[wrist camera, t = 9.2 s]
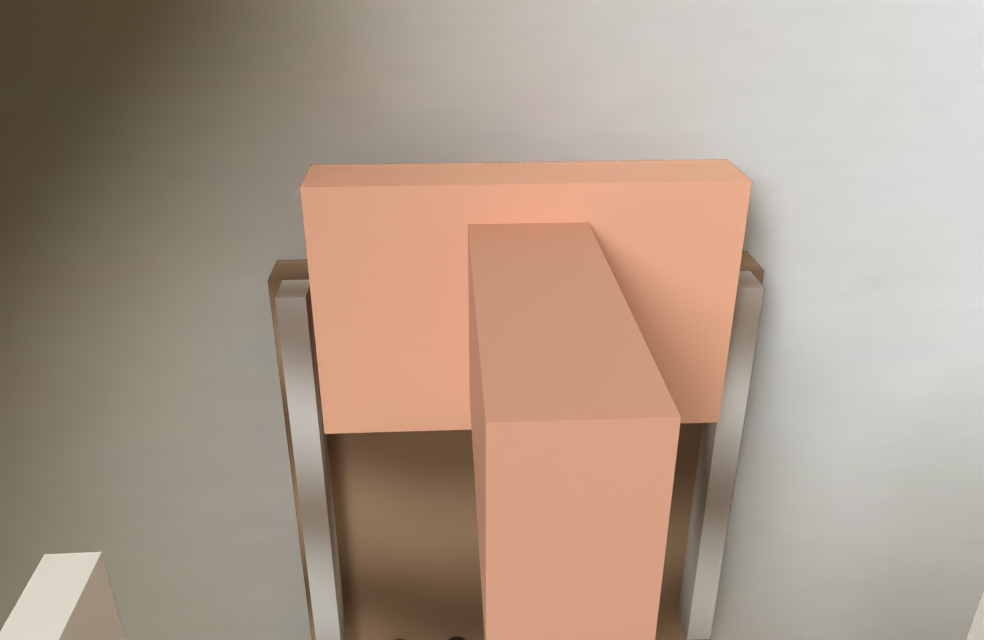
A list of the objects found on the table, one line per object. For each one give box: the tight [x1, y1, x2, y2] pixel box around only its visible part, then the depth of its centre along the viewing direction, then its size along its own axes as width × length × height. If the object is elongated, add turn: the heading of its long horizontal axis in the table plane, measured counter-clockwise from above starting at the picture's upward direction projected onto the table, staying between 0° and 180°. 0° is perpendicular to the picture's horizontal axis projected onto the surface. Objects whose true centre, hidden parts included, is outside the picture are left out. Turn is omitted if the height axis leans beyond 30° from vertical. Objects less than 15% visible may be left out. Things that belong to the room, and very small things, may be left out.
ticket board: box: [268, 252, 764, 640], centre depth 29 cm, size 24×14×4 cm, turn 0°
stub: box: [300, 159, 752, 640], centre depth 19 cm, size 7×11×11 cm, turn 90°
